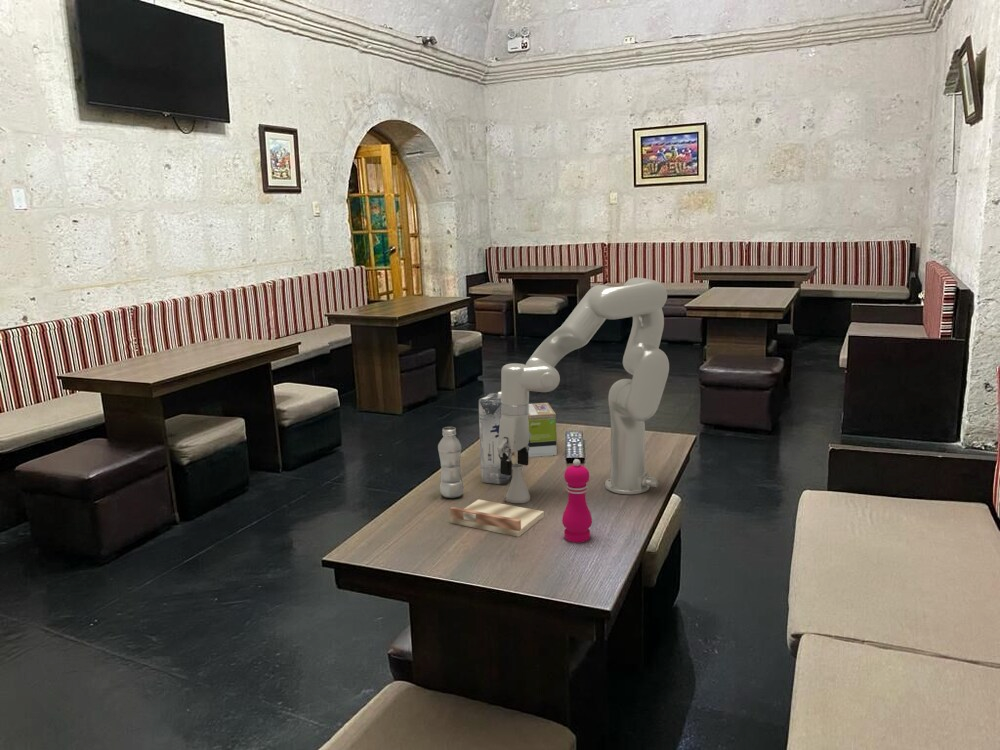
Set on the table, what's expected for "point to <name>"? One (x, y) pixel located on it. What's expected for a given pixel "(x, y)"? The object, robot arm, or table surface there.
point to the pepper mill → (576, 504)
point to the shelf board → (496, 517)
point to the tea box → (542, 430)
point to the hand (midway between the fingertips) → (514, 469)
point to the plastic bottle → (450, 464)
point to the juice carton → (491, 440)
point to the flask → (517, 487)
